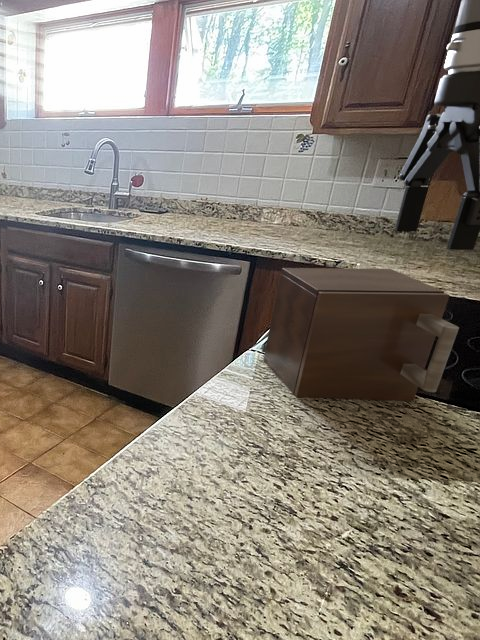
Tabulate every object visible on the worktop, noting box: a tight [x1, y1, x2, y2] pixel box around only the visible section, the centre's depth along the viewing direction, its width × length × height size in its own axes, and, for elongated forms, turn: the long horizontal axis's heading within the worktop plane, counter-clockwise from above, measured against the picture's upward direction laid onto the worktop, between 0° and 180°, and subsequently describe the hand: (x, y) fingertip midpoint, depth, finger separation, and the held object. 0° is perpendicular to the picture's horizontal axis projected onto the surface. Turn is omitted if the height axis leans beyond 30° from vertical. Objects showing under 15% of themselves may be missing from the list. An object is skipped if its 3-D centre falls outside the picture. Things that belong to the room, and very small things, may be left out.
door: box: [293, 292, 460, 402], centre depth 79 cm, size 7×18×18 cm, turn 84°
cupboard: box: [262, 267, 445, 395], centre depth 89 cm, size 14×18×18 cm
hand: (430, 239), depth 75 cm, fingers open, 13 cm apart
